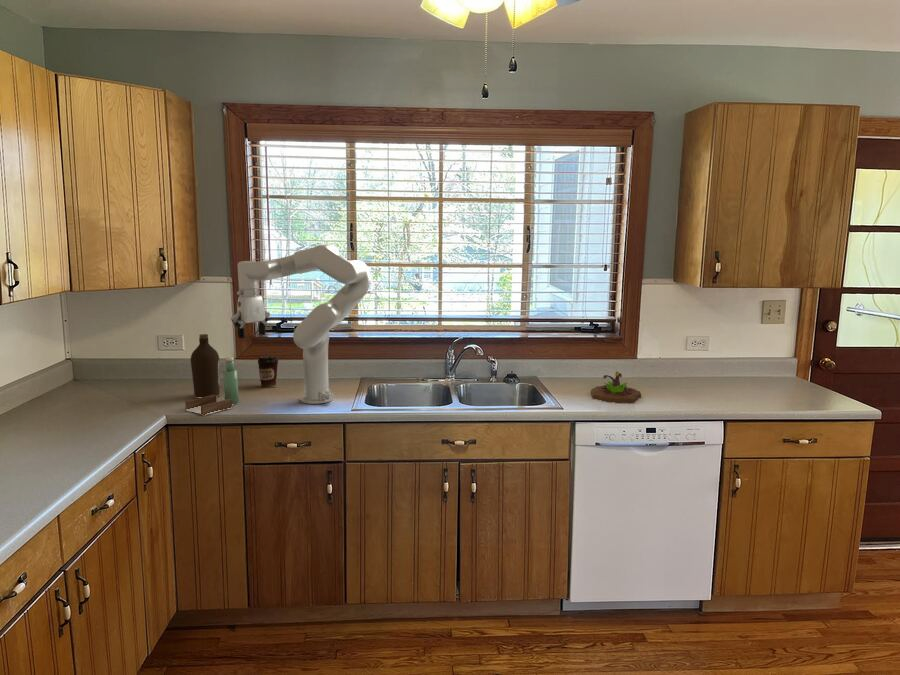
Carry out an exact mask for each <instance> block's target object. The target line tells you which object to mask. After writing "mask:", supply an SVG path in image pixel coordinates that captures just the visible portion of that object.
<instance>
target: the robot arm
mask: <svg viewBox="0 0 900 675" xmlns="http://www.w3.org/2000/svg"><path fill="white" fill-rule="evenodd" d="M340 255H341V254H340V252H339V249H338V248H337V247H336V246H334V245H333V244H327V243H326V244H318V245H316V246H314V247H311V248H306V249H302V250H297V251H295V252H293V254H291V255H287V256H284V257H280V258H279V257H278V258H273V259H269V260H262V261H255V260H244V261H243V260H242V261H239V262H238V263H237V276H238V277H237V278H238V291H236V294H237V296H239V297H238V299H237V308H236V309H237V310H236V312H237V313H235V314H234V315H233V316H231V317H230V319H231V322H232V324H233V326H235V327H236V329H237V336H238V338H239V339H245V337H246V334H245V327H244V326H245V324H251V323H259V324H258V333H259V335H262V336H265V335H266V325H267V322H268V321H269V318H270V315H271V313H270V312H269V311H266V310H265V304H264V300H263V297H262V295H260V281H262V282H266V281H269V280H277V279H281V278H284V277H288V276H289V277H290V276H292V275H297V274H298V275H299V274H301V275H302V274H305V273H311V272H314V271H318V270H319V271H320V272H322V273H323V274H325V275H327V276H329V277H330V278H332V279H333V280H334V281H337V282H339V283H341V284H344V285H343V286H342V287H341V288H340V289H339V290H338V291H337V292H336V294H334V296H333V297H331V298H330V299H329V300H328V301H327V302H324V303H322V304H319V305H316V307H314V308H313V309H312V310H311V311H310V312H309V313H308V314H307V316H306V317H305V318H303V320H302V321H301V322H300V323H299V324H298V326H296V328H295V329H294V331H293V336H292V338H293V342H294V344H295V345H296V347H298V348H300V349H302V350H303V351H302V366H303V367H302V368H303V369H302V370H303V373H302V374H303V395H301V396H300V399H299V401H300V402H301V403H303V404H308V405H319V404H321V405H322V404H325V403H326V404H327V403H330V402H332V401H333V400H334V397H335V393H332V392H331V391H332V390H331V388H329V387H330V385H329V342H330V341H329V340H330V330H331V329H333V328H334V327H336V326H338V325H340V324H341V323H342V322H343V321H344V319H345V318H346V317H347V316H348V315H349V314H350V313H351V311H353V310H354V308H355V307H356V306H357V305H358V304H359V303H360V302H361V301H362V299H364V297H365V295H366V294H367V293H368V290H369V289H370V285H371V279H372V278H371V272H370V269H369V267H368V265H367V264H366V263H365V262H364V261H362V260H359V259H350V260H347V259H346V258H344V257H342V256H340Z"/></svg>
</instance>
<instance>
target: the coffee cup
mask: <svg viewBox="0 0 900 675" xmlns="http://www.w3.org/2000/svg"><path fill="white" fill-rule="evenodd" d="M277 357H278V356H277V355H274V354H273V355H272V354H271V355H262V356H261V355H260V356H259V358H258V360H257V365H258V374H259V380H260V381H259V382H260V387H261V388H275V387H277V377H278V366H279V365H278V364H279V358H277Z"/></svg>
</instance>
